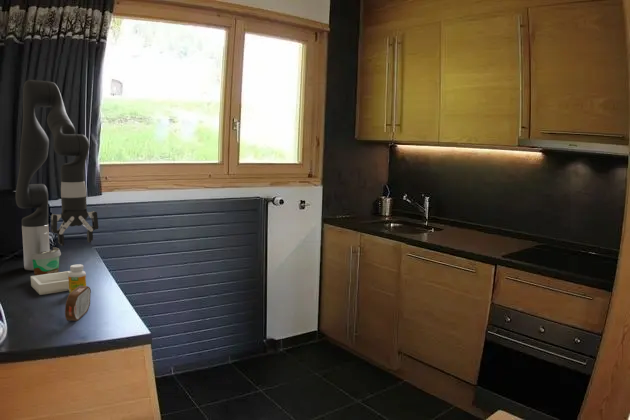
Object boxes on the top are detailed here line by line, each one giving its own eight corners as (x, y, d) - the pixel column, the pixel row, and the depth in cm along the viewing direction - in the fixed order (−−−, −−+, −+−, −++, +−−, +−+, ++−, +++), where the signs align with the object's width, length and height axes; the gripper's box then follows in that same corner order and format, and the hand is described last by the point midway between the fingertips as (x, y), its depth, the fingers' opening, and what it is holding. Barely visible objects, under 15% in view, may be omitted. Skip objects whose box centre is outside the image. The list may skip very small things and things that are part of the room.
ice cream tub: (47, 282, 194) (45, 255, 192) (32, 280, 195) (30, 253, 194) (69, 273, 206) (68, 247, 204) (54, 272, 207) (53, 246, 205)
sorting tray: (31, 285, 189) (30, 276, 188) (70, 280, 197) (69, 270, 196) (39, 295, 179) (39, 284, 178) (80, 288, 187) (80, 278, 186)
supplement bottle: (69, 296, 177) (68, 268, 176) (68, 292, 182) (67, 264, 181) (87, 295, 180) (86, 266, 178) (85, 290, 185) (84, 263, 183)
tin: (82, 308, 167) (81, 281, 166) (93, 308, 167) (92, 281, 166) (64, 325, 152) (63, 296, 151) (75, 325, 152) (74, 296, 151)
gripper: (92, 193, 184) (94, 239, 186) (47, 195, 175) (49, 244, 177) (99, 195, 178) (101, 243, 180) (53, 197, 169) (55, 248, 171)
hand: (75, 243), depth 178 cm, fingers open, 8 cm apart
